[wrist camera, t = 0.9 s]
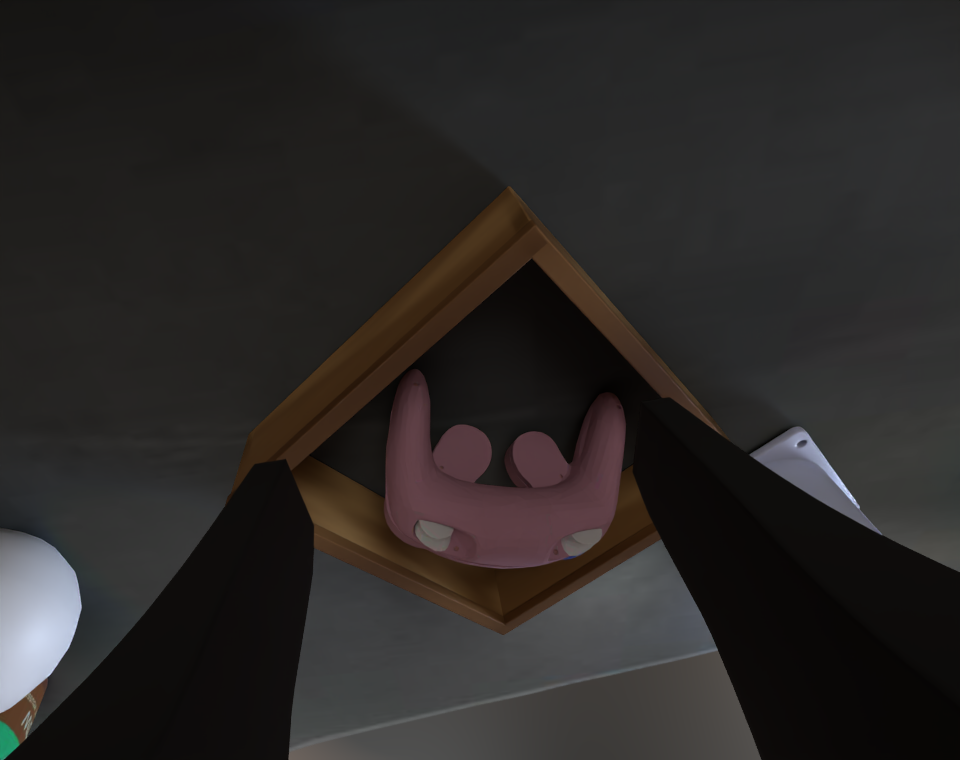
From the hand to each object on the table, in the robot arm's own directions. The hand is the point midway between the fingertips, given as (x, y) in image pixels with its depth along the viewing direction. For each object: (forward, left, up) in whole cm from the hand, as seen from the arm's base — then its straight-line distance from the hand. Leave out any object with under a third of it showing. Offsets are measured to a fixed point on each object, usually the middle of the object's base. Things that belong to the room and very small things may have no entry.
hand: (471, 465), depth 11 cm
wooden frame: (-7, +3, -10) cm, 13 cm away
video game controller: (-7, +3, -10) cm, 13 cm away
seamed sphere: (+5, +23, -10) cm, 26 cm away
